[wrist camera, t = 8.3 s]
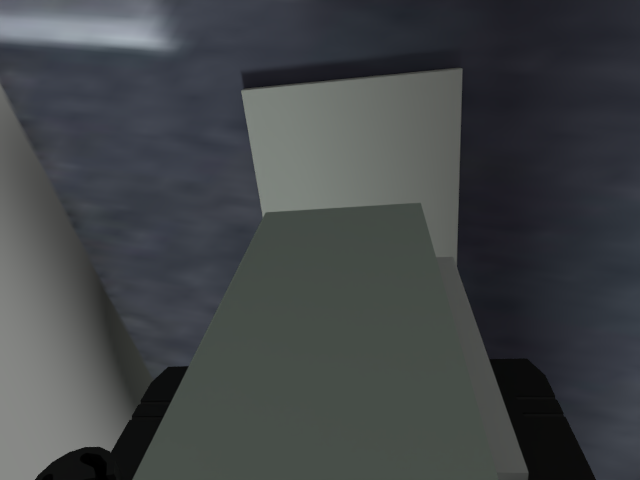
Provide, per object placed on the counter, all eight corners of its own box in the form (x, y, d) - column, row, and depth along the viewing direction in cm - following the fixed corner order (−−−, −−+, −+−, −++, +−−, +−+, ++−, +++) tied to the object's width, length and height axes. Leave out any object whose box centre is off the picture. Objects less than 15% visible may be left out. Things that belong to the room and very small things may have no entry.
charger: (417, 316, 16) (484, 716, 7) (294, 320, 17) (207, 695, 8) (415, 184, 14) (508, 514, 5) (274, 194, 15) (119, 504, 6)
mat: (454, 262, 25) (456, 267, 24) (275, 270, 26) (273, 275, 26) (460, 67, 21) (462, 69, 20) (244, 88, 22) (241, 90, 21)
